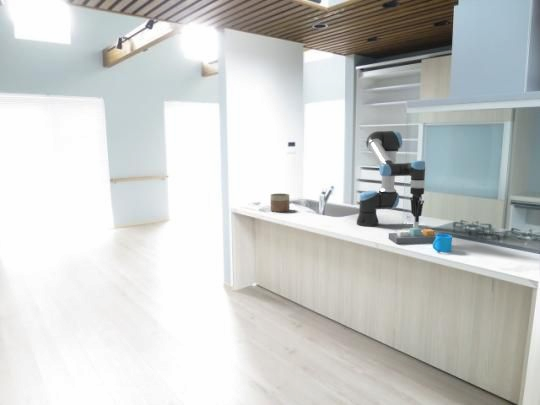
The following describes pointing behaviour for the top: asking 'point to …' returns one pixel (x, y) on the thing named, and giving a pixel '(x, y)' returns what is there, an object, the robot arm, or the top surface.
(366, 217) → the robot arm
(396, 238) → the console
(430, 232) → the button orange
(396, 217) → the top surface
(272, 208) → the planter
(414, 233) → the button teal
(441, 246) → the mug
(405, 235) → the button white
